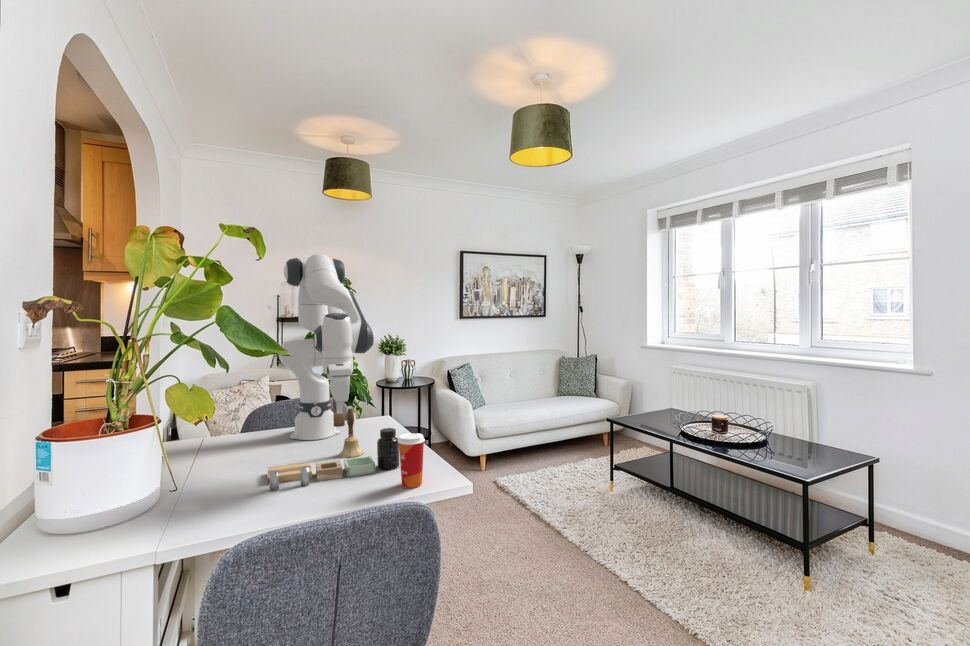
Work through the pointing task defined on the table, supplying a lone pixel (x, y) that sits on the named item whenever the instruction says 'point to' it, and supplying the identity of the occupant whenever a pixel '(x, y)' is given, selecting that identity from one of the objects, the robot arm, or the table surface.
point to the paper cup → (411, 459)
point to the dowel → (338, 416)
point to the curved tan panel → (289, 472)
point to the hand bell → (351, 439)
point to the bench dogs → (275, 478)
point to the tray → (359, 466)
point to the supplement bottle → (388, 449)
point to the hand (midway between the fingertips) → (339, 411)
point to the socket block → (329, 470)
